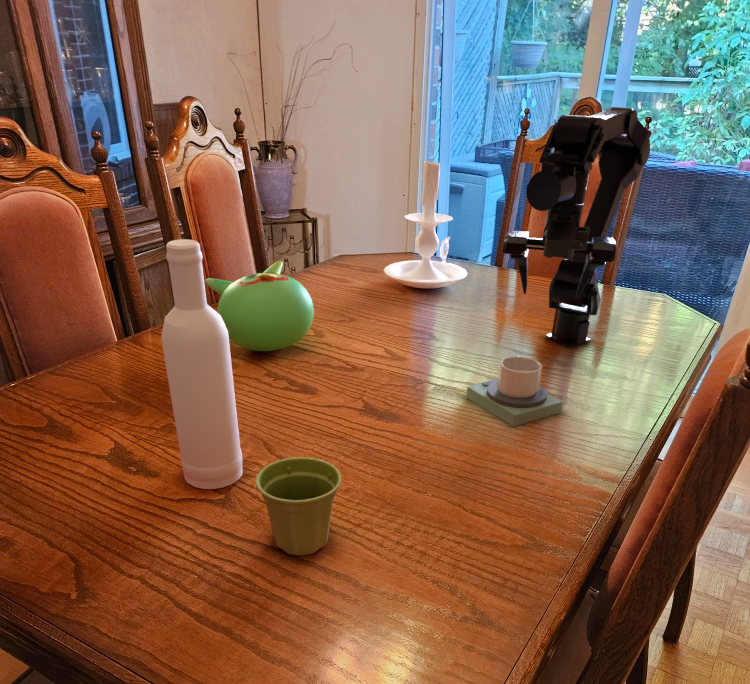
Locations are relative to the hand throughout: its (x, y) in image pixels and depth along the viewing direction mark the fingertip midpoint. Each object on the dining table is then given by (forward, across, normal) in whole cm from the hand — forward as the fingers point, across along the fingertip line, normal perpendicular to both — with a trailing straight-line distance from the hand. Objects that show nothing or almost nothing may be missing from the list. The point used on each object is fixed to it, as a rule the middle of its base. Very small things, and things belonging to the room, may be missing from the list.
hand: (550, 295), depth 120 cm
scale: (+12, -4, -22) cm, 25 cm away
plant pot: (+12, -25, -66) cm, 71 cm away
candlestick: (+12, -30, +44) cm, 54 cm away
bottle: (+12, -41, -55) cm, 70 cm away
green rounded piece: (+12, -52, -9) cm, 54 cm away
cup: (+9, -3, -22) cm, 24 cm away
